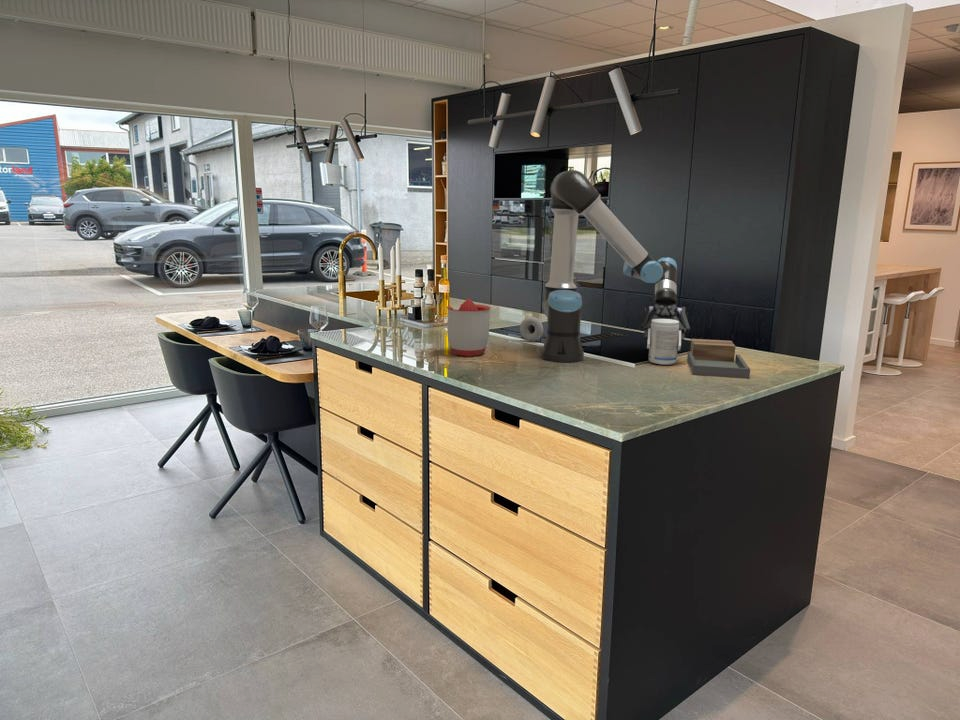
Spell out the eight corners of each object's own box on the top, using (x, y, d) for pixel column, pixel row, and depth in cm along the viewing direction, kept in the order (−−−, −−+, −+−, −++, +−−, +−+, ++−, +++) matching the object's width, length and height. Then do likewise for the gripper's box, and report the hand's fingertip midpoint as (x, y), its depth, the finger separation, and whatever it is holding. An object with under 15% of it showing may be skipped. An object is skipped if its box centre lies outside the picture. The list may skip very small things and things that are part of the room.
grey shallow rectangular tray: (687, 359, 242) (687, 351, 241) (738, 362, 238) (739, 354, 237) (692, 374, 220) (693, 365, 220) (749, 378, 217) (750, 369, 216)
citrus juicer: (465, 346, 257) (466, 294, 253) (498, 354, 245) (499, 299, 241) (434, 352, 247) (434, 297, 242) (467, 360, 235) (467, 303, 230)
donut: (544, 342, 268) (545, 317, 266) (540, 343, 265) (541, 318, 263) (521, 339, 273) (522, 314, 271) (517, 340, 270) (518, 316, 268)
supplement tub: (682, 363, 235) (686, 321, 231) (663, 366, 230) (667, 323, 226) (660, 357, 243) (664, 317, 239) (642, 360, 237) (645, 319, 234)
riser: (689, 354, 250) (691, 338, 249) (729, 356, 247) (731, 340, 246) (692, 360, 241) (693, 343, 239) (733, 363, 238) (735, 346, 237)
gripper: (696, 303, 244) (696, 355, 233) (633, 300, 249) (630, 351, 237) (699, 290, 238) (699, 343, 226) (634, 287, 242) (631, 339, 231)
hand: (663, 347), depth 232 cm, fingers closed on supplement tub, 9 cm apart
